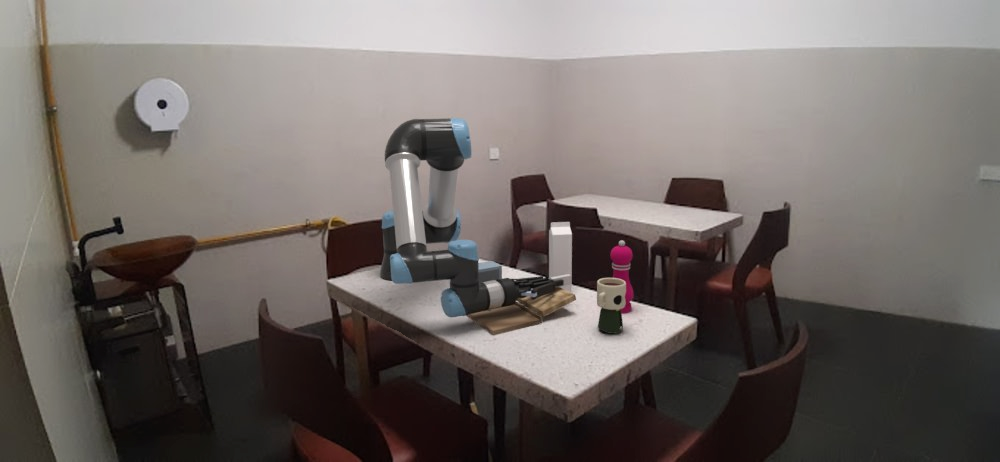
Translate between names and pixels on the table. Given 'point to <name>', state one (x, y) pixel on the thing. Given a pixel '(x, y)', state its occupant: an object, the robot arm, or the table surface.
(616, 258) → the pepper mill
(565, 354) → the table surface
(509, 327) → the flatbed
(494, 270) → the cab
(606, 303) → the character mug
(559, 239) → the milk
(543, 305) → the side gate
